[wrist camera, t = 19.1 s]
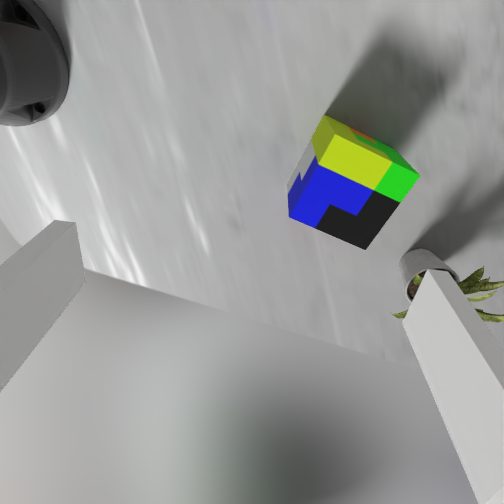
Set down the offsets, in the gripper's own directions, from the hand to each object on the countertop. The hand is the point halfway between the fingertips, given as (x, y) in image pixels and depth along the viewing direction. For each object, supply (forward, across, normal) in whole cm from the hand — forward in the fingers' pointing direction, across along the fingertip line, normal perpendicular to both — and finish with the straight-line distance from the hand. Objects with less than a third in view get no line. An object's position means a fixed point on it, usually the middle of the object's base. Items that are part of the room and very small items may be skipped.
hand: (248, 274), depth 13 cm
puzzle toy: (+35, +10, -6) cm, 37 cm away
